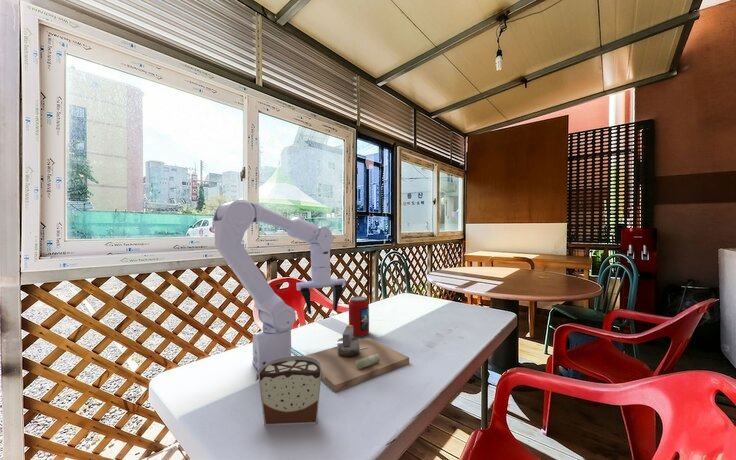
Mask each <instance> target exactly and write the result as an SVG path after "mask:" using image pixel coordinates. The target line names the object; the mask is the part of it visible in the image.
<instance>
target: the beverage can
mask: <svg viewBox="0 0 736 460" xmlns="http://www.w3.org/2000/svg"><path fill="white" fill-rule="evenodd" d="M369 304H370V302H369V301H368V298H367V297H366V296H363V295H361V296H360V295H359V296H357V295H356V296H352V297H350V299H349V301H348V325H352V326H353V337H364V336H366V335H367V334H368V333H370V305H369Z"/></svg>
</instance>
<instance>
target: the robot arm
mask: <svg viewBox="0 0 736 460" xmlns="http://www.w3.org/2000/svg"><path fill="white" fill-rule="evenodd" d="M212 216H213V217H212V219H211V220H212V223H213V228H214V246H215V248H216V250H217V251H218V252H219V253H220V255H221V256H222V258H223V260H224V261H225V262H226V264H227V265H228V266H229V268H230V269H231V271H232V272H233V273H234V275H235V276H236V277H237V279H238V280H239V282H240V283H241V285H242V287H244V288H245V290H246V291H247V293H248V295H250V297H251V299H252V300H253V301H254V307H255V308H256V310H257V315H258V319H259V321H260V322H261V323H262V330H260V331H258V332H256V333H255V332H254V333H253V335H252V361H251V362H252V365H254V366H255V368H256V369H257V371H258V370H259V369H260V368H261V367H262V366H263V365H265V364H266V363H268V362H270V361H273V360H275V359H278V358H282V357H288V356H292V353H291V351H292V349H291V347H292V327H293V325H294V323H295V322H296V315H297V314H296V311H295V309H294V308H293V307H291V306H290V305H288V304H286V303H285V300H283V299H282V297H280V296H279V295H278V294H277V293H275V291H274V290H273V288H272V287H271V286H270V284H269V282H268V281H267V280H266V278H265V276H264V275H263V274H262V272H261V270H260V269H259V267H258V266H257V265H256V263H255V262H254V260H253V259H252V257H251V256H250V254H249V253H248V252H247V250H246V248H245V247H244V245H243V244H242V242H243V240H244V237H245V233H246V232H247V230H248V229H249V227H250V226H251V225H252V223H263V224H266V225H269V226H272V227H276V228H279V229H283V230H285V231H286V234H287V235H288V237H289V236H290V237H291V238H294V239H298V240H300V241H304V242H306V243H308V245H309V246H310V248H309V249H310V268H311V269H310V270H311V272H310V274H311V280H307V281H301V282H296V286H295V287H296V291H300V293H301V295H302V297H303V299H304V302H305V305H306V308H307V313H308V315H311V314H312V307H311V305H312V304H311V292H310V291H311V289H321V288H332V309H333V311H334V312H337V310H338V305H339V301H340V299H341V298H340V297H341V295H342V293H343V290H344V287H346V285H347V284H346V279H345V278H332V277H331V276H332V272H331V248H332V244H333V241H334V237H335V236H334V235H333V233H332V231H331V230H330V228H329V227H327V226H319V225H318V224H319V223H317V222H311V221H308V220H306V219H305V217H304V216H302V215H301V216H299V215H298V216H294V217H292V218H289V217H287V216H284V215H282V214H280V213H278V212H276V211H274V210H271V209H269V208H267V207H264V206H262V205H260V204H258V203H255V202H250V201H248V200H246V199H236V200H234V201H230V202H223V203H220V204H219V205H218V206H217V208H216V210H215V212H214V214H213V215H212Z"/></svg>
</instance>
